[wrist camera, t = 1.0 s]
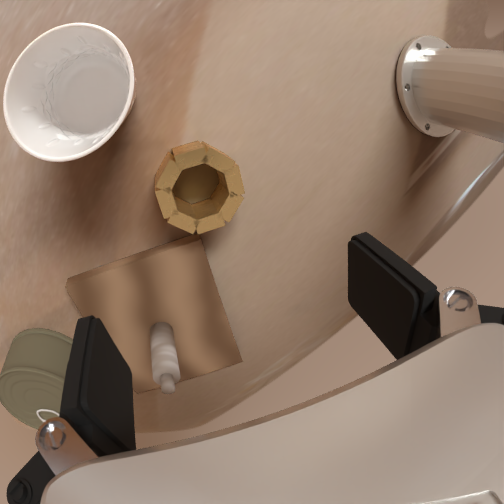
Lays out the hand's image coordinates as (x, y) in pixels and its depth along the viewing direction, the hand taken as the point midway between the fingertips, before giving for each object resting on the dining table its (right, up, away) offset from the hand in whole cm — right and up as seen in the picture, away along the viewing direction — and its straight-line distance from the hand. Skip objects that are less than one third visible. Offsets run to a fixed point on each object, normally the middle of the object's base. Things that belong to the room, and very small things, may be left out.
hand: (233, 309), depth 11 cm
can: (-24, -12, +20) cm, 33 cm away
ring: (-4, +8, +16) cm, 19 cm away
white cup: (-12, +15, +10) cm, 22 cm away
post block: (-9, -6, +22) cm, 24 cm away
